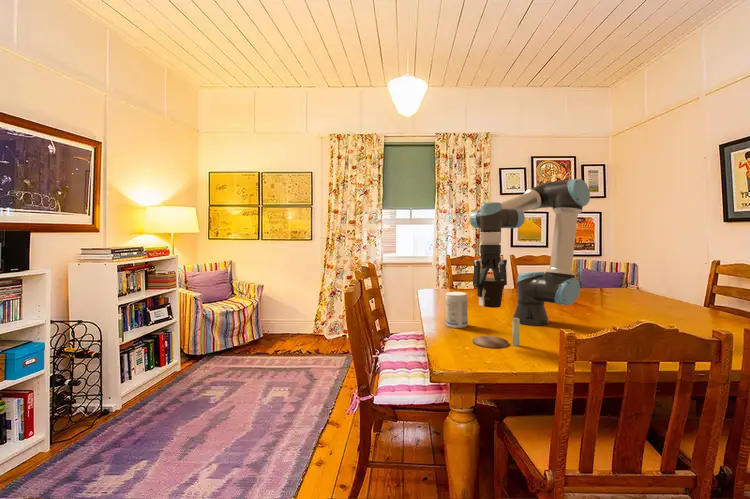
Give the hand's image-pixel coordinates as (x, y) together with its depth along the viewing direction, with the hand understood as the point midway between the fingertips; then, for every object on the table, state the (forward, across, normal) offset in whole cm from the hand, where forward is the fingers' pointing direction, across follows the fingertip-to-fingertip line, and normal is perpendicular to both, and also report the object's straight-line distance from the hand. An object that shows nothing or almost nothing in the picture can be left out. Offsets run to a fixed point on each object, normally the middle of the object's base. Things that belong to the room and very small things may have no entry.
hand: (489, 304), depth 146 cm
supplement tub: (+15, -2, -27) cm, 31 cm away
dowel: (+15, -7, +6) cm, 17 cm away
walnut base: (+15, 0, 0) cm, 15 cm away
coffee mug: (0, -1, 0) cm, 1 cm away
